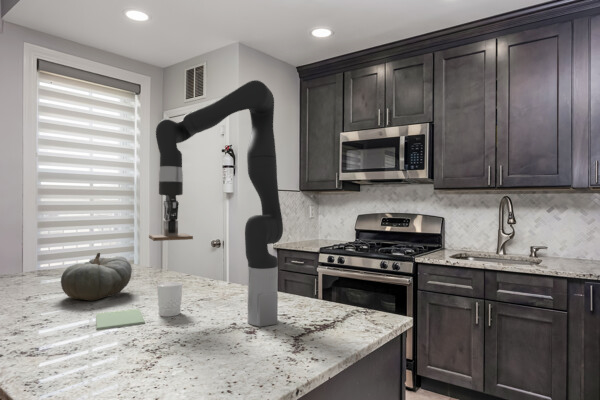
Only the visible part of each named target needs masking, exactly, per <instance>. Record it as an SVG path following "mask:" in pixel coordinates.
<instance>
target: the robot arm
mask: <svg viewBox="0 0 600 400" xmlns="http://www.w3.org/2000/svg"><path fill="white" fill-rule="evenodd" d="M245 110H248V111H249V115H250V123H251V136H250V139H249V143H248V147H247V154H246V163H247V173H248V174H247V175H248V177H249V180H250V182H251V183H252V186H253V187H254V189H255V191H256V192H257V195H258V197H259V200H260V204H261V205H260V206H261V214H260V215H259V214H257V215H256V214H255V215H252V216H250V217H249V218H248V219H247V221H246V222H245V226H244V245H245V256H246V260H247V324H249V325H252V326H257V327H258V328H260V327H267V326H273V325H277V324H278V321H279V320H278V319H279V318H278V315H279V313H278V303H279V300H278V296H279V295H278V279H279V278H278V272H279V271H278V268H279V267H278V262H279V261H278V258H277V256H275V255H273V254H271V253H270V252H269V249H268V248H269V247H268V245H271V244H276V243H278V242H279V241H281V239H282V237H283V234H284V233H283V232H284V224H283V216H282V211H281V204H280V195H279V186H278V185H279V184H278V166H277V153H276V151H277V150H276V139H275V133H274V117H275V116H274V114H275V113H274V112H275V98H274V94H273V92H272V91H271V90H270V88H269V87H268V86H267V85H266V84H265V83H264V82H262V81H261V80H259V79H258V80H257V79H256V80H255V79H254V80H250V81H248V82H246V83H245V84H243V85H241V86H239V87H238V88H237V89H234V90H233V91H232V92H230V93H228V94H226V95H225V96H222V97H221V98H219V99H217V100H215V101H213V102H211V103H210V104H207V105H205V106H202V107H199V108H197V109H195V110H193V111H190V112H187V113H186V114H184V116H183V119H182V120H180V121H174V120H171V119H166V118H164V119H161V120H160V121H159V122H158V123H157V125H156V127H155V138H156V143H157V148H158V152H159V171H158V194H159V196H165V200H164V201H163V214H164V215H163V218H164V220H168V221H170V222H168V232H169V233H175V232H176V222H175V221H176V220H177V221H178V218H179V217H178V213H179V202H178V201H179V200H177V196H183V193H184V192H183V191H184V190H183V185H184V184H183V182H184V177H183V176H184V175H183V154H182V151H180V150H179V148H178V145H177V144H181V143H183V142H186V141H187V140H189V139H191V138H192V137H194V136H195V135H196V134H198V133H202V132H204V131H206V130H209V129H212V128H213V127H216V126H217V125H219V124H220V123H221V122H222V121H224V120H225V119H226V118H228V117H229V116H230V115H233V114H235V113H237V112H240V111H245Z"/></svg>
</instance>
